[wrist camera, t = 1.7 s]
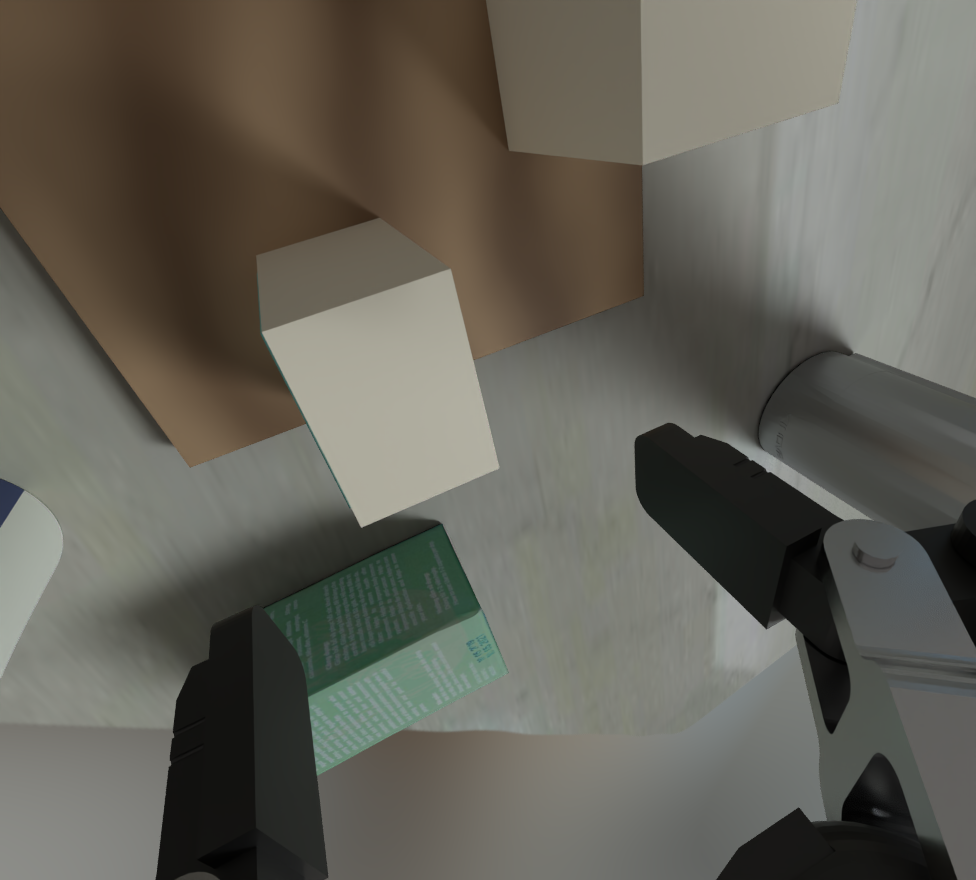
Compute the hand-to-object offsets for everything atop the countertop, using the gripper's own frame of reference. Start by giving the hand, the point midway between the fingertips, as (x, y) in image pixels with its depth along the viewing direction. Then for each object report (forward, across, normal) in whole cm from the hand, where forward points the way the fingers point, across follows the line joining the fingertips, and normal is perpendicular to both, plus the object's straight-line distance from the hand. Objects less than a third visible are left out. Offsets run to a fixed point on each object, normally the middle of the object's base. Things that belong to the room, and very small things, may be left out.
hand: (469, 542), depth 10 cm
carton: (+15, 0, 0) cm, 15 cm away
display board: (+16, -3, -4) cm, 17 cm away
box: (+17, +6, +19) cm, 26 cm away
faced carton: (+15, -12, -7) cm, 20 cm away
